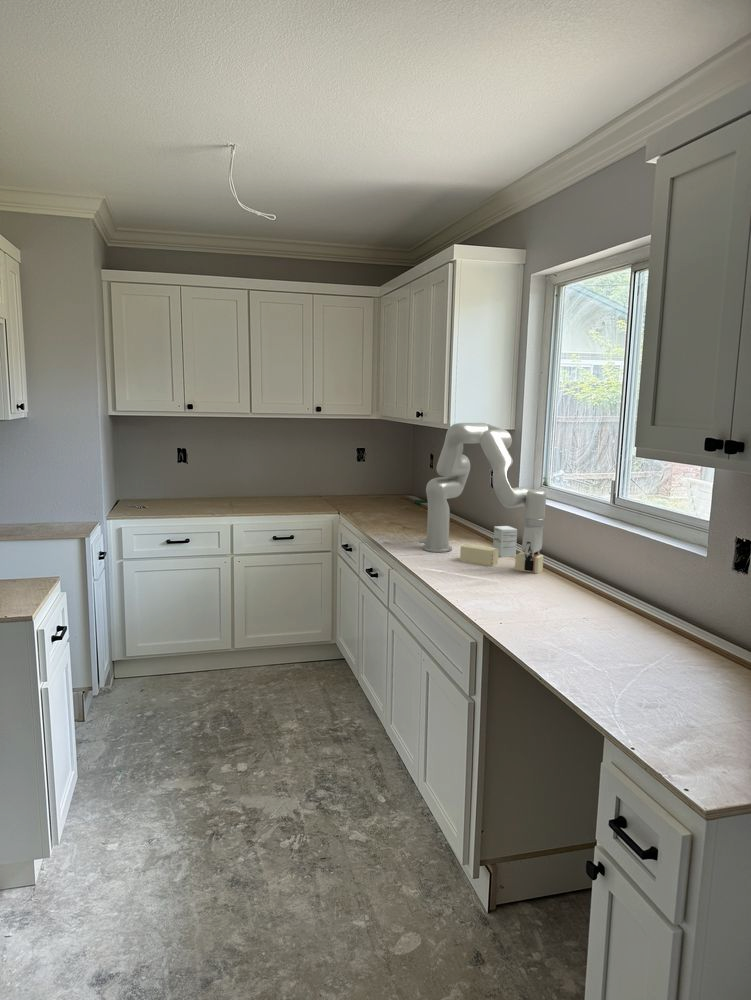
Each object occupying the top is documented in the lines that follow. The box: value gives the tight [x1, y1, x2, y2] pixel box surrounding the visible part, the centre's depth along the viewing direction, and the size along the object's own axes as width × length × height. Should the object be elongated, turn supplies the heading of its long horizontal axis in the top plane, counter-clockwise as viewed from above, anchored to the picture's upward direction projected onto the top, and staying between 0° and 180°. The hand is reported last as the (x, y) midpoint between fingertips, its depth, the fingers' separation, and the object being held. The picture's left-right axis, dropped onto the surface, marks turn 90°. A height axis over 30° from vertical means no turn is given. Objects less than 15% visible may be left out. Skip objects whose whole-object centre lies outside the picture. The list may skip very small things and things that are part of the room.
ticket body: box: [459, 543, 499, 567], centre depth 271 cm, size 14×6×6 cm, turn 57°
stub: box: [514, 551, 544, 574], centre depth 260 cm, size 9×6×6 cm, turn 57°
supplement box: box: [492, 525, 518, 558], centre depth 284 cm, size 7×7×13 cm
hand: (531, 568), depth 259 cm, fingers closed on stub, 5 cm apart
